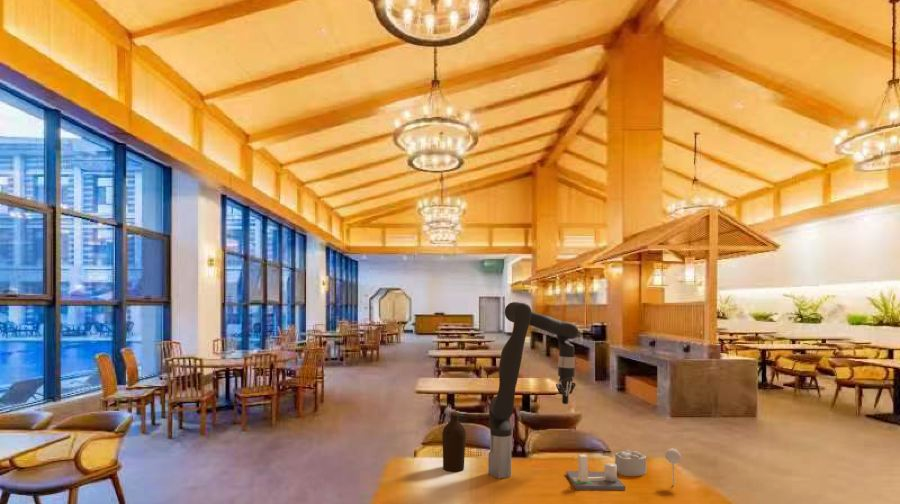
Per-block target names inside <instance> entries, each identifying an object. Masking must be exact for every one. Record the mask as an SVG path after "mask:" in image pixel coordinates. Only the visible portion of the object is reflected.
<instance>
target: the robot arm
mask: <svg viewBox="0 0 900 504" xmlns="http://www.w3.org/2000/svg"><path fill="white" fill-rule="evenodd" d="M504 316H505V318H506V319H507V320H508V321H509V322H512V323H513V328H512V333H511V334H510V337H509V339H508V340H507V341H506V343H505V344H504V346H503V348H502V350H501V352H500V359H499V364H498V378H499V379H498V382H499V383H498V384H499V385H498V391H497V394H496V395H495V396H494V397H493V398H492V399H491V400H490V401H489V409H488V413H489V414H488V418H489V419H488V420H489V422H488V424H489V431H490V432H489V433H490V435H489V436H490V438H489V439H490V440H489V445H490V447H489V452H488V466H487V467H488V472H487V474H488V476H490V477H493V478H497V479H506V478H510V477H511V476H512V426H511V419H510V418H511V417H512V415H513V413H514V409H515V394H516V388H517V382H518V380H519V379H518V378H519V374H520V369H521V364H522V358H523V353H524V352H523V351H524V348H525V347H524V346H525V343H526V342H525V341H526V337H527V333H528V331H529V327H530V326H532V327H535V328H537V329H539V330H541V331H545V332H546V333H549V334H553V335H556V338H557V342H558V346H559V352H558V360H557V361H558V362H557V363H558V367H557V369H558V370H557V375H558V376H559V381H558V383H556V384H555V387H556V389H557V391H558V394H559V395H561V396H562V399H561V402H562V404H563V405H568V404H569V397H570V395H572V394H573V391H574V389H575V387H576V386H577V385H576V382H574V380H573V378H574V377H575V345H574V344H572V343H571V342H570V340H574V339H575V338H577V337H578V335H579V333H580V331H579V328H578V326H577V325H575V324H573V323H571V322H567V321H564V320H559V319H557V318H554V317H552V316H549V315H547V314H543V313H542V314H541V313H537V312H534V311H532V308H531V307H530V305H529V304H528V303H523V302H519V301H512V302H509V303H508V304H507V305H506V306H505V308H504Z"/></svg>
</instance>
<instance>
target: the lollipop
mask: <svg viewBox="0 0 900 504" xmlns="http://www.w3.org/2000/svg"><path fill="white" fill-rule="evenodd" d="M664 455H665V459H666V460H667V462H668V463H671V464H672V486H673V485H674V486H675V464H678V463H679V462H680V461H681V458H682V455H681V453H680V451H679V450H678V449H676V448H672V447H671V448H668V449H667V450H666V452H665V453H664Z"/></svg>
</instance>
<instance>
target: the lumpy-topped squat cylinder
mask: <svg viewBox="0 0 900 504" xmlns="http://www.w3.org/2000/svg"><path fill="white" fill-rule="evenodd" d="M614 456H615V457H614V459H615V460H614V464H616V465H617V471H618V472H617V473H618V474H620V475H622V476H625V477H626V476H627V477H639V476H640V477H641V476H644V474H645V475H646V474H647V456H646V455H645V454H644V453H640V452H639V451H636V450H635V451H634V450H633V451H631V450H629V449H625V450H624V451H622V450H620V451H618V452H615V455H614Z"/></svg>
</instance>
